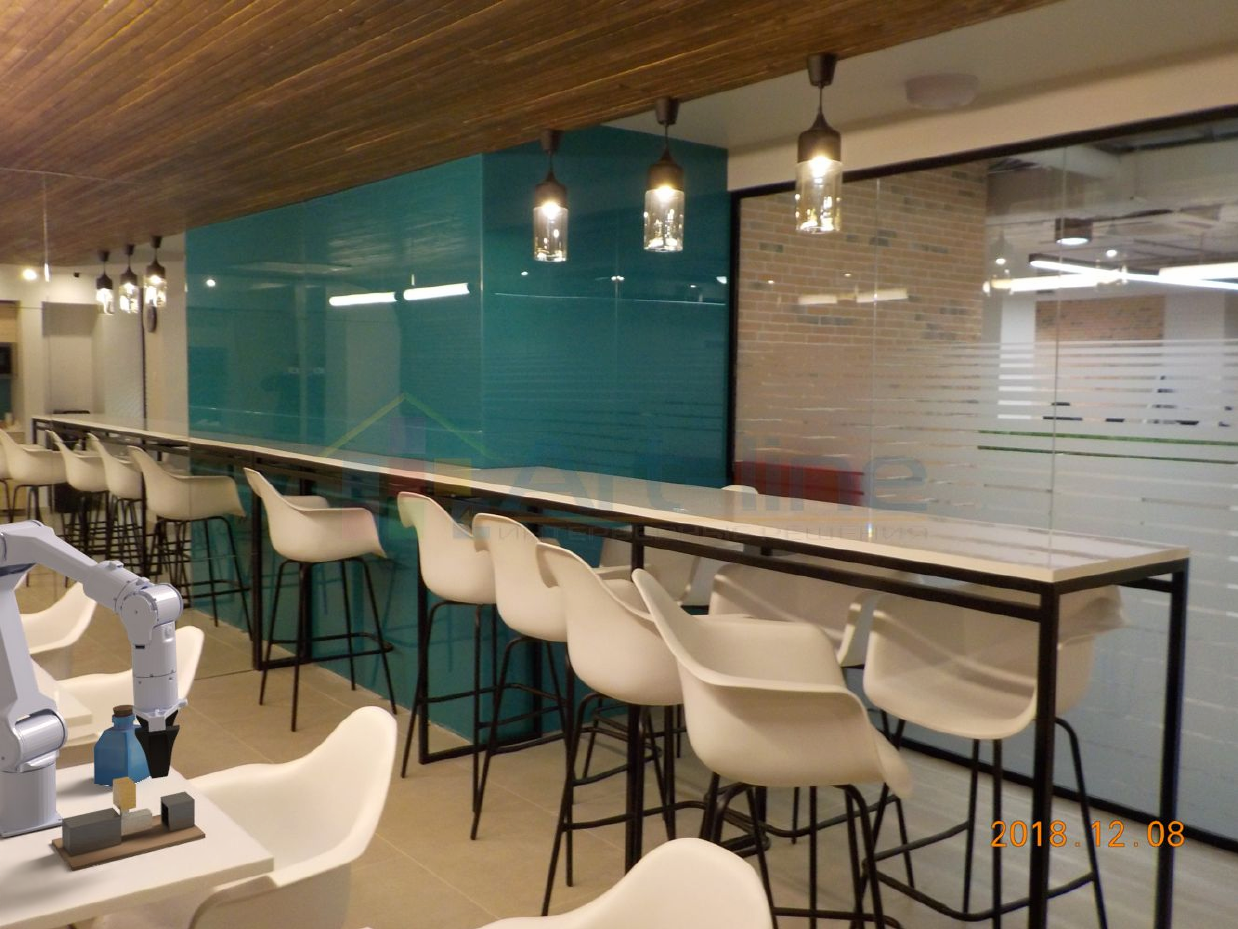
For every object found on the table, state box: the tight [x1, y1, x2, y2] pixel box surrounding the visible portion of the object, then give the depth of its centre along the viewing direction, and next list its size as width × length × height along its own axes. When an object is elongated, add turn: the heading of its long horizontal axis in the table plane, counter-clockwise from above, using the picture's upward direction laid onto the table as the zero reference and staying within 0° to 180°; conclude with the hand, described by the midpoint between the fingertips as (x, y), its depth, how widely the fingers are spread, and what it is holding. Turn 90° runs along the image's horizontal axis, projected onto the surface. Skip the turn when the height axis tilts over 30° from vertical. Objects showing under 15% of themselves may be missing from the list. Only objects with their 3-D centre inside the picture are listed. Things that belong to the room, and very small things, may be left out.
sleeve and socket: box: [61, 791, 196, 857], centre depth 148 cm, size 4×16×4 cm, turn 131°
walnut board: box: [51, 813, 206, 872], centre depth 148 cm, size 11×17×1 cm, turn 131°
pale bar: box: [112, 777, 153, 836], centre depth 146 cm, size 4×10×7 cm, turn 131°
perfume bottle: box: [93, 704, 151, 787], centre depth 171 cm, size 6×6×12 cm
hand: (159, 768), depth 147 cm, fingers open, 7 cm apart
